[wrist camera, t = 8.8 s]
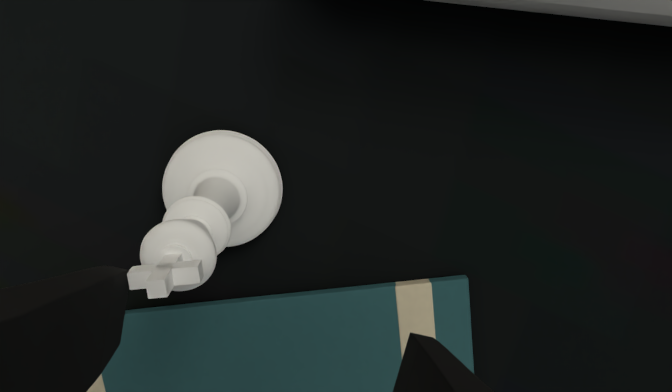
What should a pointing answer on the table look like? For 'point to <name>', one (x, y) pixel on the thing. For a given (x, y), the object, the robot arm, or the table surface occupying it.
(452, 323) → the towel
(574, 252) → the table surface
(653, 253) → the table surface
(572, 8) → the tube
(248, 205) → the chess piece
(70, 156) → the table surface
